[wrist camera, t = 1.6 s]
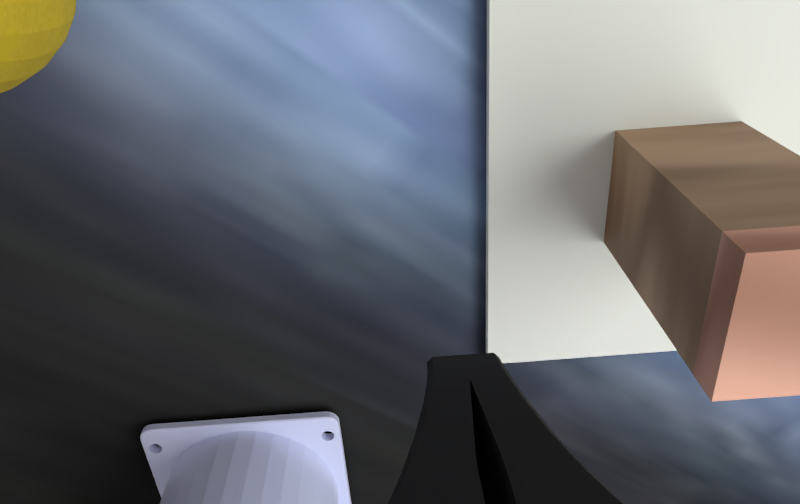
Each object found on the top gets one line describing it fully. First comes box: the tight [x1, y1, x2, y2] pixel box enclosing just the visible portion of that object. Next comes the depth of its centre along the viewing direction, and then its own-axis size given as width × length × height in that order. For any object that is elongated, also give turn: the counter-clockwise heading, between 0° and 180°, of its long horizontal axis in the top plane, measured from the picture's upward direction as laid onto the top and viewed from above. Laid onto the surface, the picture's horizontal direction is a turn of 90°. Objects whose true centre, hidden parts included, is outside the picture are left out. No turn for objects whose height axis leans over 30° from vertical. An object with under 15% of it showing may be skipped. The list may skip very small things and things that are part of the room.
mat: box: [486, 0, 800, 363], centre depth 21 cm, size 14×18×1 cm
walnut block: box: [604, 121, 800, 401], centre depth 17 cm, size 4×4×8 cm
